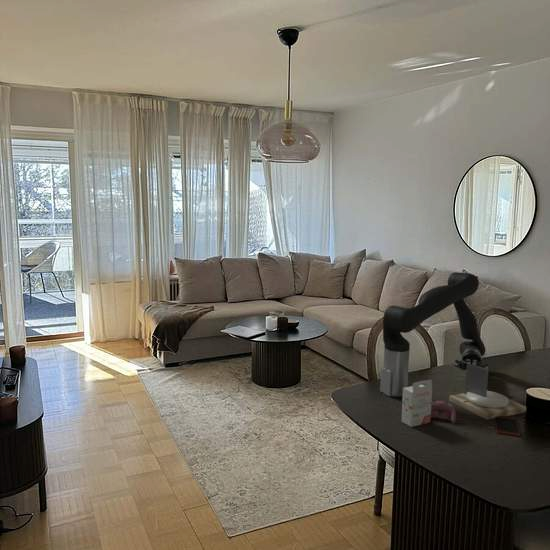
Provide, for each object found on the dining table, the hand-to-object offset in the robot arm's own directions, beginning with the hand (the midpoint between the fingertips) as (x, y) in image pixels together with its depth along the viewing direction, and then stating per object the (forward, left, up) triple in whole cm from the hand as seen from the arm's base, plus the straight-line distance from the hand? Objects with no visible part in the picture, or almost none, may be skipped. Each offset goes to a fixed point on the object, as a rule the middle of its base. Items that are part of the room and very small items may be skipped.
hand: (471, 371), depth 195 cm
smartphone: (-10, -27, -10) cm, 30 cm away
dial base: (-3, -11, -9) cm, 15 cm away
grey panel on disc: (-3, -11, -7) cm, 14 cm away
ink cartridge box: (-36, -13, -9) cm, 39 cm away
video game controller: (-26, -14, -9) cm, 32 cm away
